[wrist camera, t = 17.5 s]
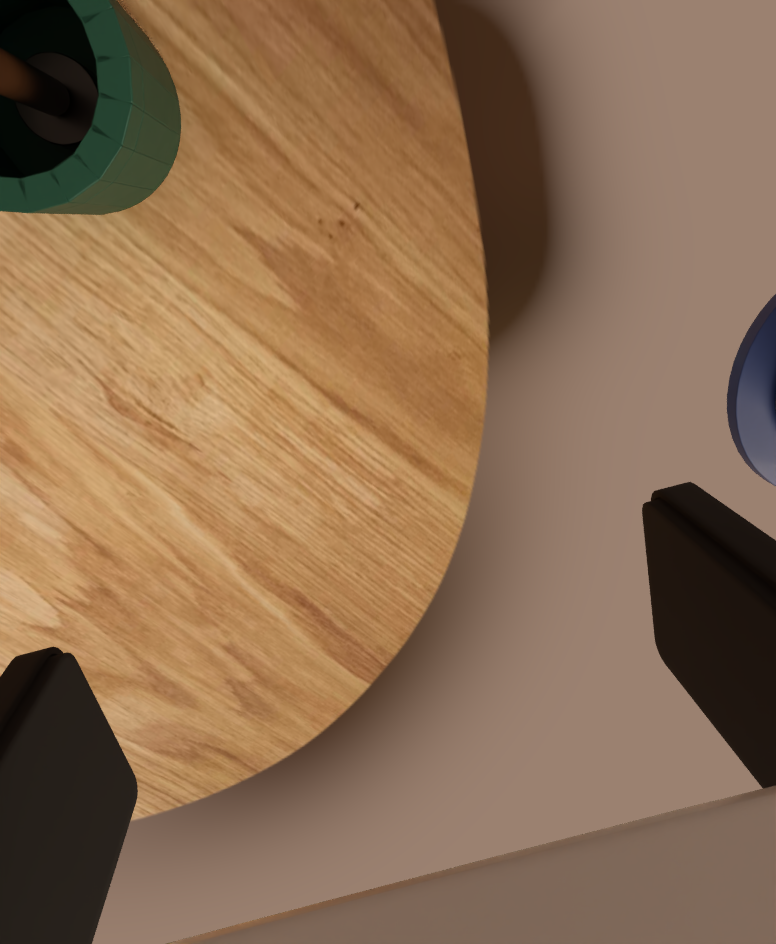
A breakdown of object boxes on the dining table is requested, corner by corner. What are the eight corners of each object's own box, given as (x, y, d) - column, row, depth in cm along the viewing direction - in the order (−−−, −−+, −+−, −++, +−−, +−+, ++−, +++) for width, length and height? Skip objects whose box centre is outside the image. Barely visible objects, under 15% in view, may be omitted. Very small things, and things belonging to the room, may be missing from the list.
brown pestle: (98, 55, 34) (-63, -73, 19) (129, 140, 35) (1, 83, 20) (22, 75, 34) (-200, -38, 19) (56, 159, 35) (-126, 116, 20)
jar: (138, -27, 33) (64, -136, 23) (207, 187, 37) (170, 175, 27) (-60, 25, 33) (-222, -62, 23) (31, 235, 37) (-74, 240, 27)
